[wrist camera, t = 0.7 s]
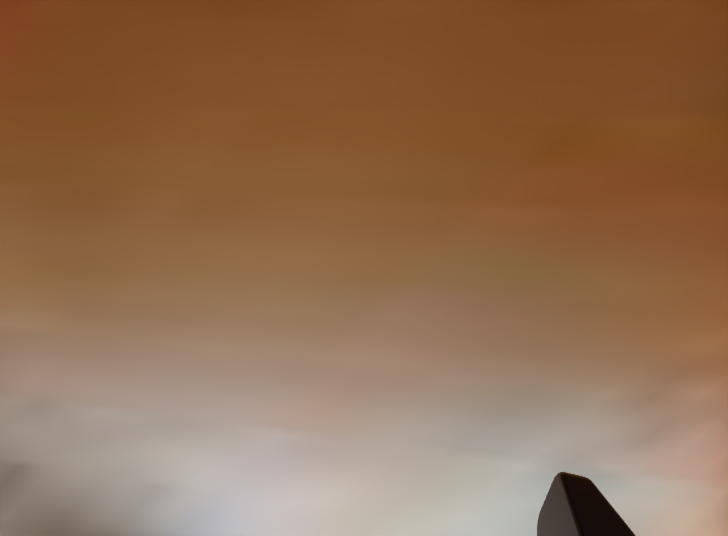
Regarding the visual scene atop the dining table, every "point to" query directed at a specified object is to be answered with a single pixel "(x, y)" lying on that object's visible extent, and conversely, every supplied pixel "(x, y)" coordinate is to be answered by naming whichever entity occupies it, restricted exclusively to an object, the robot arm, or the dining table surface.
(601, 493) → the robot arm
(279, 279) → the dining table surface
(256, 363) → the dining table surface
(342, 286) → the dining table surface
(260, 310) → the dining table surface
